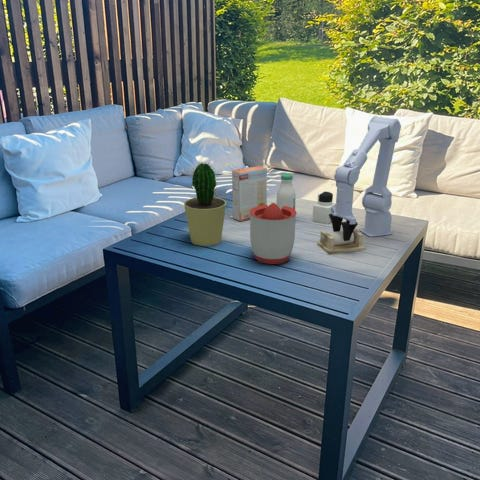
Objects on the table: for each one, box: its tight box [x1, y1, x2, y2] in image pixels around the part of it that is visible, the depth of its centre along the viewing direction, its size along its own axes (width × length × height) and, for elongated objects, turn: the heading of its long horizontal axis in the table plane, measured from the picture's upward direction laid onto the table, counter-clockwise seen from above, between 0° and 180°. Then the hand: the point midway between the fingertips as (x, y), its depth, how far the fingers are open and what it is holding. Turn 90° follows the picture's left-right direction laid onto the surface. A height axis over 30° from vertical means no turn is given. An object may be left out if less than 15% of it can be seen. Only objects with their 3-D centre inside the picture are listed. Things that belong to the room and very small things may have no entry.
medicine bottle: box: [312, 191, 336, 225], centre depth 209 cm, size 7×7×12 cm
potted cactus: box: [183, 162, 227, 247], centre depth 185 cm, size 15×15×30 cm
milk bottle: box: [275, 173, 296, 210], centre depth 205 cm, size 8×8×20 cm
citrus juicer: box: [249, 202, 297, 265], centre depth 172 cm, size 16×17×20 cm
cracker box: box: [231, 165, 268, 222], centre depth 211 cm, size 14×6×21 cm, turn 124°
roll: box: [328, 230, 354, 246], centre depth 183 cm, size 8×5×5 cm, turn 108°
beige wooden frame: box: [316, 228, 366, 255], centre depth 183 cm, size 10×14×6 cm
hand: (341, 236), depth 183 cm, fingers open, 7 cm apart
